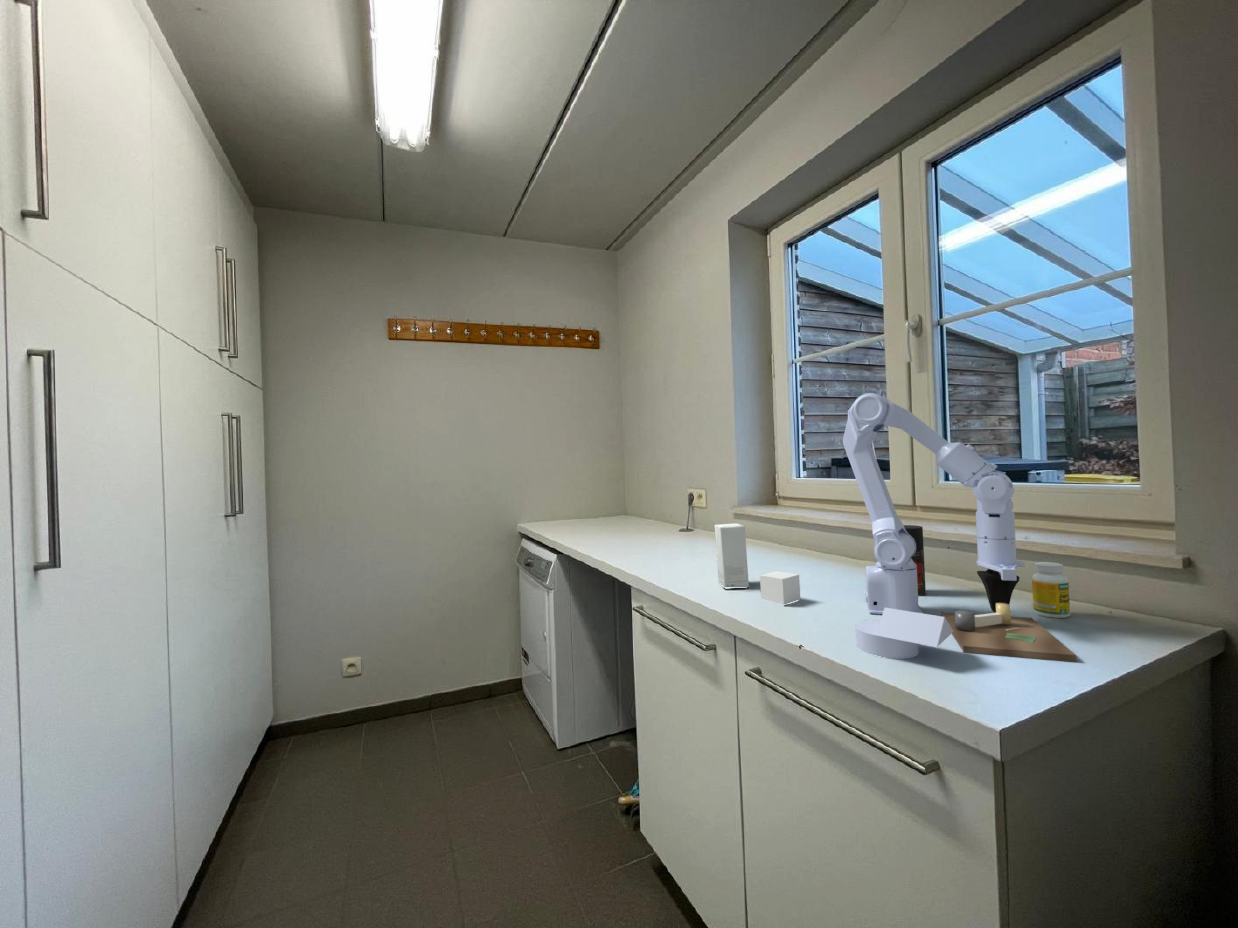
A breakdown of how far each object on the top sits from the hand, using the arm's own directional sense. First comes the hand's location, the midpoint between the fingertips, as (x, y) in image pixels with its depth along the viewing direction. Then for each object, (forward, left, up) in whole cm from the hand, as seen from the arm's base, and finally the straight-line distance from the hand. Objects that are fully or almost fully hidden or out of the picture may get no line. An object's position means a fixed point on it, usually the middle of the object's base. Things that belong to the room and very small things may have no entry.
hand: (999, 611), depth 94 cm
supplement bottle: (+10, +8, -2) cm, 13 cm away
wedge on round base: (-18, -20, -2) cm, 27 cm away
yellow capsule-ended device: (-4, -7, -1) cm, 8 cm away
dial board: (-2, -8, -2) cm, 9 cm away
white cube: (-39, +6, -2) cm, 40 cm away
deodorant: (-12, +20, -2) cm, 23 cm away
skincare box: (-52, +18, -2) cm, 55 cm away
